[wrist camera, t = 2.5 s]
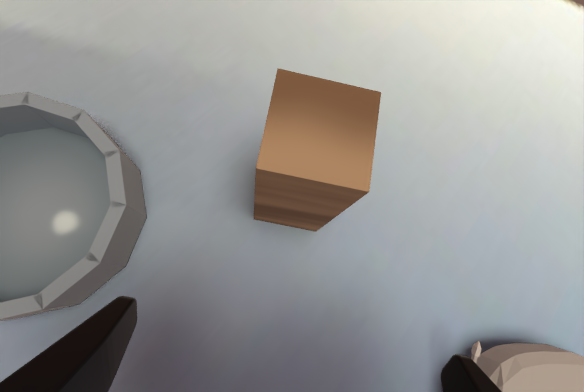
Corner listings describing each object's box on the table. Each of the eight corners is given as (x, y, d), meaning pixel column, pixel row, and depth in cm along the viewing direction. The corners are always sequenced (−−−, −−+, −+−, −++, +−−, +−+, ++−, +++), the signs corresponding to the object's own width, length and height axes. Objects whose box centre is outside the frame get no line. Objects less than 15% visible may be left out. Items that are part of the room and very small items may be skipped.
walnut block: (316, 231, 24) (369, 191, 13) (253, 219, 23) (255, 168, 13) (325, 172, 25) (381, 92, 14) (266, 160, 24) (277, 68, 14)
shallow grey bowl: (183, 218, 23) (170, 207, 19) (10, 361, 19) (-46, 380, 16) (69, 91, 24) (36, 56, 20) (-111, 205, 21) (-188, 189, 17)
